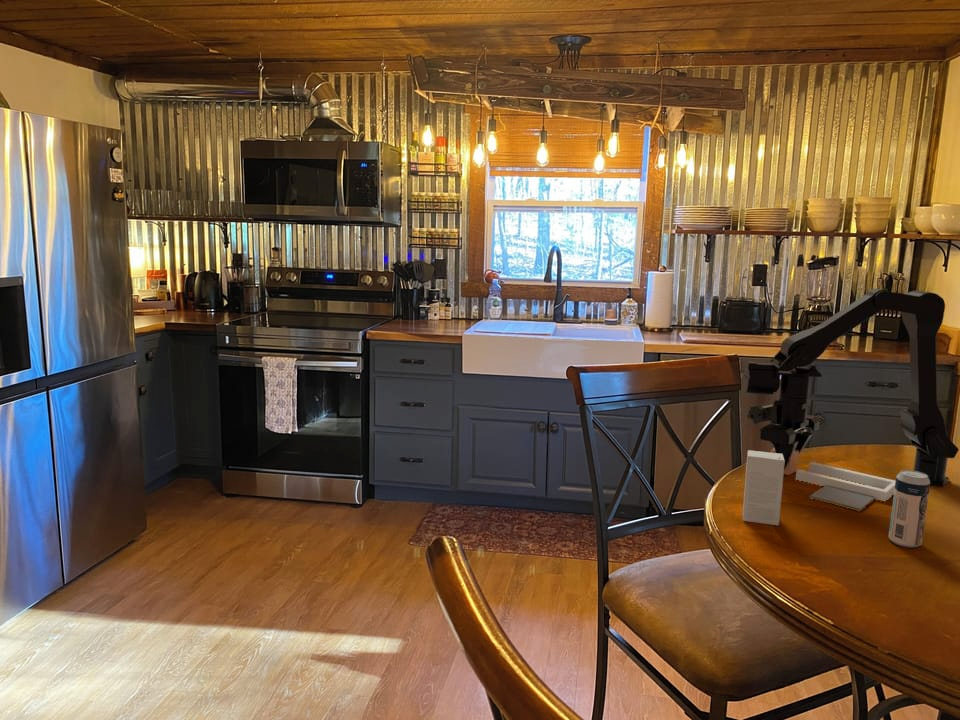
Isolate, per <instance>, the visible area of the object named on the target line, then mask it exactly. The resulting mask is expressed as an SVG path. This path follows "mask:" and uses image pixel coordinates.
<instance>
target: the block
mask: <svg viewBox="0 0 960 720" xmlns="http://www.w3.org/2000/svg"><path fill="white" fill-rule="evenodd" d="M769 453H776V452H775V448H774V447H773V448H770V450H769ZM798 455H799V456H800V454H799V450H794V452H793V454H792V456H791V458H790V460H789V462H788V464H787V466H786V468H785V469H784V474H783V475H787V476H790V475H792V474H794V473H796V471H797V470H798V463H799V456H798Z"/></svg>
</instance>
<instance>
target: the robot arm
mask: <svg viewBox="0 0 960 720" xmlns="http://www.w3.org/2000/svg"><path fill="white" fill-rule="evenodd" d="M945 309H946V303H945V300H944V298H943V297H942V296H940V295H939V294H937V293H935V292H929V291H923V290H912V291H909V292H907V293H901V292H894V291H888V290H886V289H882V288H881V289H880V288H872V289H870V290H868V291H867V292H866V293H865V294H864V295H863V296H861V297H860V298H858V299H857V300H855V301H853V302H851V303H850V304H849V305H847V306H846V307H844V308H842V310H840V311H838V312H836V313H835V314H833V315H832V316H830V317H829V318H827V319H826V320H824V321H823V322H821V323H819V324H818V325H816V326H813V327H811V328H808V329H803V330H802V331H801V330H800V331H799V332H797V333H795V334H792V335H789V336H788V337H786V338H784V340H783V341H782V342H781V345H780V349H779V350H778V351H777V353H776V354H775V355H774V356H773V357H772V358H771V359H770V360H769V362H768V363H765V362H754V361H747V362H746V366H745V368H744V371H743V374H742V375H741V388H742V393H743V394H748V395H749V394H750V395H768V396H773V395H774V393H777V392H778V398H776V399H775V400H774V401H773V402H772V403H773V404H767V405H761V404H760V403H759V404H756V405H755V404H754V405H751V406H750V408H749V409H748V411H747V412H748V414H747V418H748V419H750V420H751V423H752V425H755V424H758V423H762V422H769V421H770V423H768V424H766V425H764V426H763V427H761V428H760V429H758V431H759V432H758V439H759V440H761V441H765V442H766V441H767V442H770V444H772V445H773V448H775V452H776V453H779V454H783V457H784V460H785V464H784V469H785V468H786V466H787V464H788V462H789V460H790V458H791V456H792V454H793V452H794V450H799V455H798V457H799V456H800V454H801V453H802V451H803V450H804V448H805V446H806V445H807V443H808V442H809V440H810V439H811V437H812V436H813V434H814V433H813V432H816V431H818V430H820V424H821V421H820V419H819V418H818V417H817V416H816V415H810V414H807V412H808V408H809V407H811V405H812V401H811V400H809V395H810V394H809V393H810V387H811V386H810V385H811V384H810V383H811V377H812V378H821V377H822V375H823V374H822V373H821V372H820V371H818V369H817V368H816V366H815V365H814V364H813V363H814V362H815V361H817V359H818V358H819V357H820V356H822V355H823V354H824V352H825V351H826V350H827V348H829V346H830V345H831V344H832V343H834V341H836V340H838V339H839V338H841V337H842V336H844V335H845V334H847V333H848V332H850V331H852V330H853V329H854V328H856V327H858V326H859V325H861V324H863V323H864V322H866V321H867V320H869V319H870V318H872V317H873V316H875V315H877V314H878V313H879V312H882V311H883V310H888V311H893V312H900V313H901V318H902V322H903V324H904V326H905V328H906V331H907V333H908V337H909V364H910V365H909V366H910V368H909V370H910V403H909V405H908V407H907V409H903V408H901V409H900V410H899V414H900V419H901V422H900V425H899V428H901V429H903V433H904V435H905V436H906V437H907V438H909V441H910V444H911V446H912V447H915V448H916V449H915V455H914V464H913V470H912V471H918V472H921V473H924V474H926V475H927V476H928V478H929V480H930V485H933V486H937V487H944V486H945V485H946V484H947V483H948V482H949V481H950V477H949V476H946V474H947V473H946V472H947V466H948V459H955V457H956V456H957V454H958V452H959V450H960V449H959V447H957V445H956V444H955V443H954V442H952V440H951V439H950V438H949V437H948V430H947V426H946V420H945V418H944V415H943V412H942V411H941V409H940V407H939V403H938V378H937V377H938V374H937V373H938V372H937V371H938V369H937V367H938V365H937V364H938V363H937V335H938V332H939V330H940V329H941V326H942V324H943V321H944V317H945V311H946V310H945ZM807 428H810V429H811V431H812V432H809V431H807Z"/></svg>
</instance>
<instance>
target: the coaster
mask: <svg viewBox="0 0 960 720" xmlns="http://www.w3.org/2000/svg"><path fill="white" fill-rule="evenodd" d="M810 498H813V499H818V500H822V501H826V502H830V503H834V504H838V505H842V506H845V507H849V508H853V509H857V510H861V509H863V508H864V507H865V506H866V505H867V504H869V503H870V502H871V501H872V500H874V499H875V497H874V496H870V495H866V494H862V493H858V492H854V491H850V490H845V489H841V488H837V487H833V486H829V485H825V486H824V487H821V488H819V489H818V490H817V491H815V492H813V493H812V494H810V495H809V499H810ZM813 499H812V500H813ZM874 501H875V500H874ZM872 502H873V501H872ZM872 502H871V503H872ZM871 503H870V504H871ZM870 504H869V505H870ZM865 508H866V507H865ZM865 508H864V509H865ZM864 509H863V510H864Z"/></svg>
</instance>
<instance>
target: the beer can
mask: <svg viewBox="0 0 960 720" xmlns="http://www.w3.org/2000/svg"><path fill="white" fill-rule="evenodd" d="M895 481H896V482H895V490H894V495H893V499H892V507H891V514H890V522H889V530H888V535H887V536H888V539H889V541H891V542H892V543H894V544H895V545H898V546H900V547H904V548H913V549H914V548H917V547H920V546H922V544H923V537H924V530H925V523H926V516H927V510H928V502H929V495H930V486H931V484H930V480H929V478H928V476H927V475H926V474H924V473H921V472H918V471H913V470H912V469H902V470H901V471H899V473H897V475H896V477H895Z"/></svg>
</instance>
